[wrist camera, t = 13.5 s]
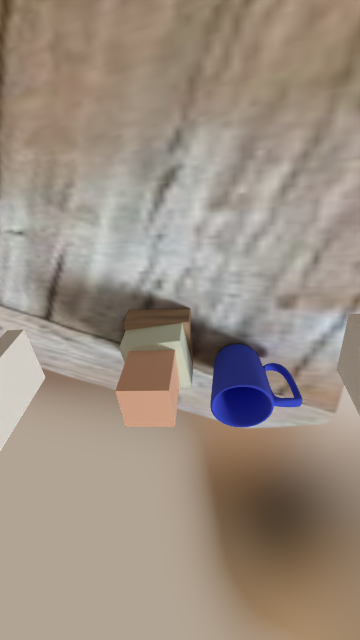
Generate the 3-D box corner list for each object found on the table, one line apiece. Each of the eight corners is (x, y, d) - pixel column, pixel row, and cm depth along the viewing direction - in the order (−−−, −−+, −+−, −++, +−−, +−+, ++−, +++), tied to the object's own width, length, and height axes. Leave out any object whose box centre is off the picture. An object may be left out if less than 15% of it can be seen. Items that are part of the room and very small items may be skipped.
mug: (284, 378, 52) (299, 429, 43) (210, 377, 53) (210, 426, 44) (292, 337, 47) (309, 386, 39) (210, 337, 48) (210, 384, 40)
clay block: (129, 351, 41) (115, 391, 35) (175, 350, 40) (168, 390, 35) (137, 384, 44) (125, 426, 39) (179, 384, 44) (174, 426, 38)
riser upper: (125, 330, 44) (119, 348, 41) (182, 322, 43) (179, 340, 40) (141, 372, 48) (136, 392, 45) (192, 367, 47) (191, 386, 44)
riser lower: (129, 308, 47) (123, 323, 44) (190, 306, 46) (188, 322, 43) (138, 355, 52) (133, 372, 49) (193, 355, 51) (192, 372, 48)
